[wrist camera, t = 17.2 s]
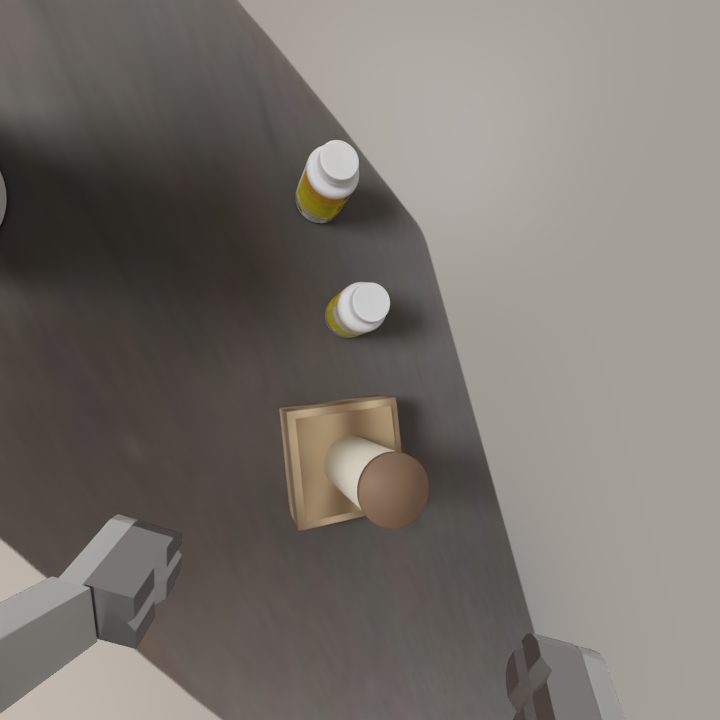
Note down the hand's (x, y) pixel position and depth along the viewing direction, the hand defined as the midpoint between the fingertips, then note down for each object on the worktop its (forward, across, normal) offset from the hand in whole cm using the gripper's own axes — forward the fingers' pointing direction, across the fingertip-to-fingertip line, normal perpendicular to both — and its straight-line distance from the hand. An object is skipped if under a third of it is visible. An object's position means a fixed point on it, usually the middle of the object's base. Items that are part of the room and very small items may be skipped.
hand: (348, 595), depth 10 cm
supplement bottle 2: (+41, -5, -10) cm, 43 cm away
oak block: (+33, -2, -24) cm, 40 cm away
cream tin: (+28, 0, -20) cm, 34 cm away
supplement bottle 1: (+46, -12, +1) cm, 48 cm away
